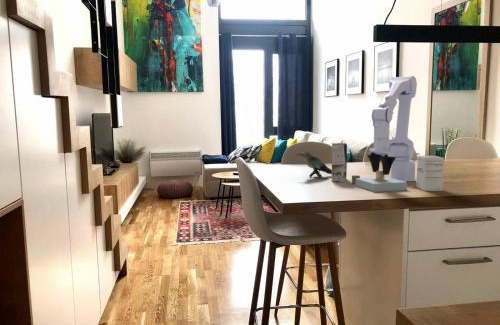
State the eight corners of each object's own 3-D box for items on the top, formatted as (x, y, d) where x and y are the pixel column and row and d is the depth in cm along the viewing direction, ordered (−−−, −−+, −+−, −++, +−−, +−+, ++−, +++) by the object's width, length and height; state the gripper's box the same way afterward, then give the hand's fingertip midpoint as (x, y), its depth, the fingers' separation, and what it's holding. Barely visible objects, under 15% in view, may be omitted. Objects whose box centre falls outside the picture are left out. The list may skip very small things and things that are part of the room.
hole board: (386, 183, 173) (386, 176, 173) (406, 189, 159) (406, 182, 159) (355, 185, 170) (355, 178, 169) (373, 191, 156) (373, 183, 156)
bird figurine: (329, 172, 202) (312, 137, 195) (342, 175, 193) (325, 139, 186) (309, 188, 198) (291, 154, 191) (322, 192, 189) (303, 156, 182)
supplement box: (415, 187, 164) (416, 155, 163) (434, 187, 164) (436, 155, 163) (422, 191, 157) (424, 157, 155) (442, 190, 157) (444, 157, 155)
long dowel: (381, 186, 166) (381, 170, 166) (385, 188, 163) (386, 171, 163) (374, 187, 166) (374, 171, 165) (378, 188, 163) (379, 172, 162)
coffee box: (346, 182, 179) (347, 144, 177) (331, 181, 180) (331, 144, 178) (346, 178, 188) (346, 142, 186) (331, 178, 189) (332, 142, 187)
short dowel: (357, 183, 175) (357, 175, 175) (361, 184, 172) (361, 176, 172) (350, 183, 175) (350, 175, 174) (354, 185, 172) (354, 176, 171)
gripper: (362, 137, 168) (362, 171, 170) (382, 140, 154) (381, 176, 156) (378, 137, 170) (377, 170, 172) (399, 139, 156) (398, 175, 158)
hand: (380, 173), depth 164 cm, fingers open, 7 cm apart
